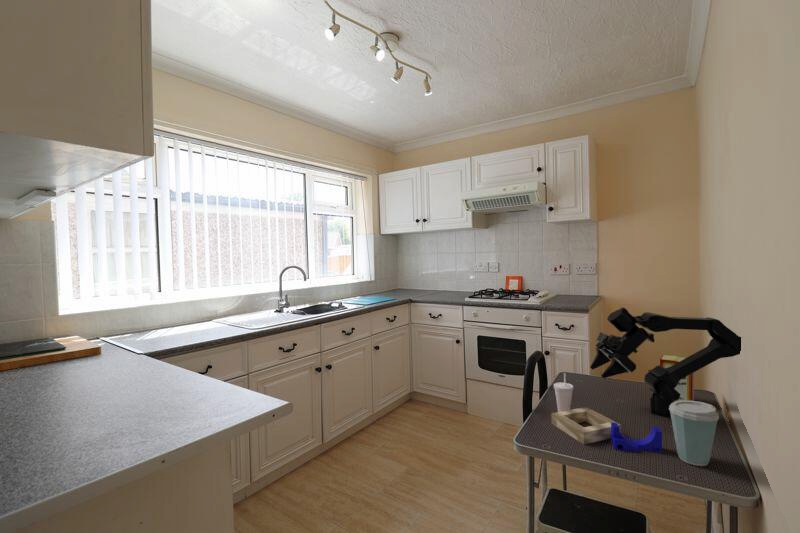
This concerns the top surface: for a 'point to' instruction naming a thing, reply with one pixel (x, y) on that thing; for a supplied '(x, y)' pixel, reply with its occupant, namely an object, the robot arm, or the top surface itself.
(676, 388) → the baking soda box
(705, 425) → the disposable coffee cup
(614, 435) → the cable clip
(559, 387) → the smoothie
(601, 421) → the bottle stand
